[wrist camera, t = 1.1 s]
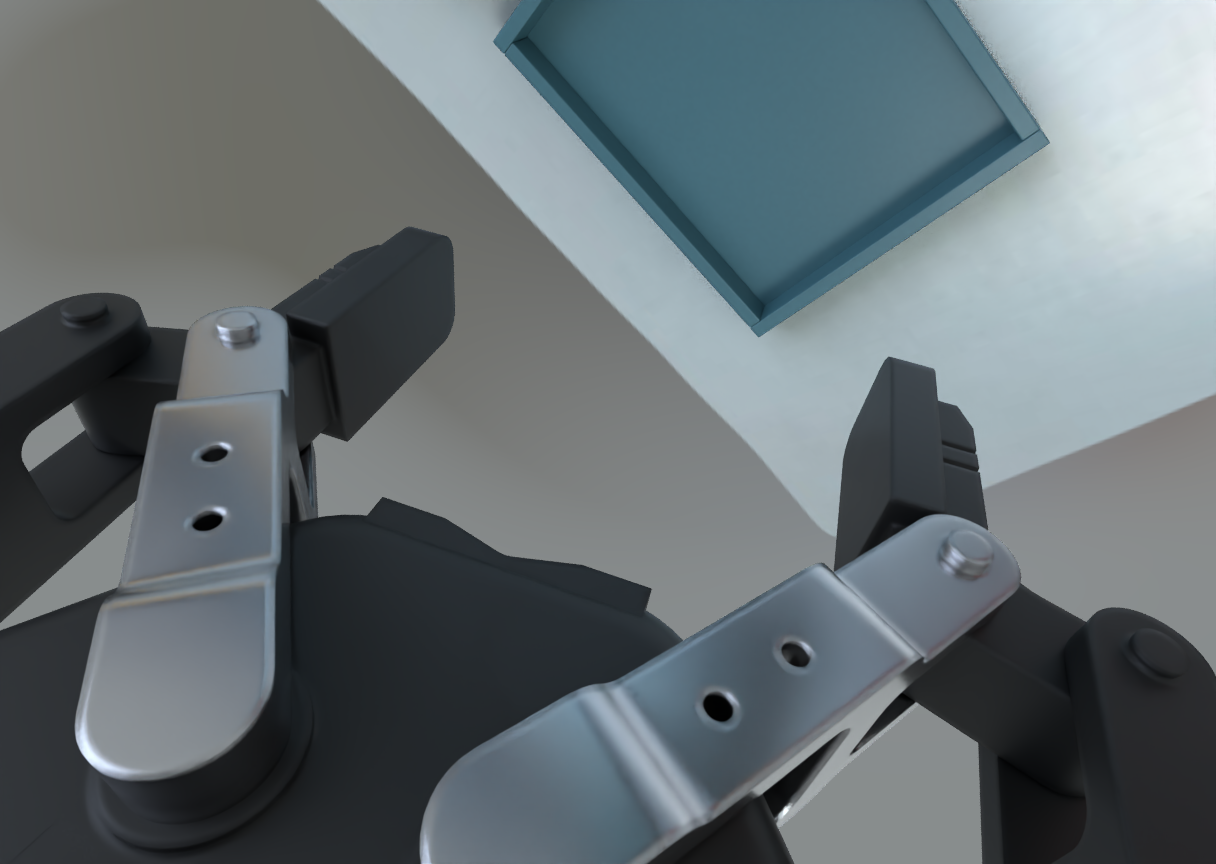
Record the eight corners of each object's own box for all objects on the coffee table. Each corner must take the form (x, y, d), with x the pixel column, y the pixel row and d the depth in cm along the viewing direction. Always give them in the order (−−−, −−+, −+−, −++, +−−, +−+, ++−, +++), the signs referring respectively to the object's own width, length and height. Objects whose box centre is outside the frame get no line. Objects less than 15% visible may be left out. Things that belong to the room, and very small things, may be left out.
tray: (512, 33, 37) (492, 41, 36) (749, -300, 27) (739, -314, 25) (764, 317, 43) (758, 337, 41) (1040, 128, 33) (1050, 143, 31)
